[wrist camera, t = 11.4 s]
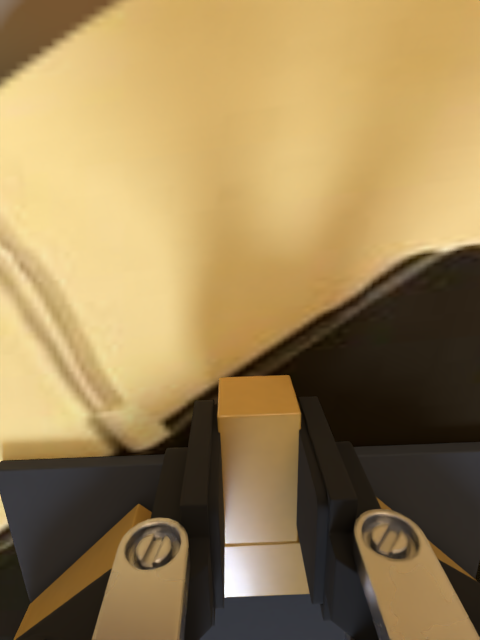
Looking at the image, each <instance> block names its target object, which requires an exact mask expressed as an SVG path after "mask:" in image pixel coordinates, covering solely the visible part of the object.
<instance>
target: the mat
mask: <svg viewBox="0 0 480 640" xmlns="http://www.w3.org/2000/svg"><path fill="white" fill-rule="evenodd" d="M354 450H355V452H356V454H357V456H358V458H359V461H360V463H361V465H362V467H363V469H364V472H365V474H366V476H367V478H368V480H369V483H370V485H371V487H372V489H373V491H374V494H375V496H376V497H377V498H378V499H379V500H381V501H382V502H383V503H384V504H385V505H387V506H388V507H389V508H390V509H391V510H393V511H395V512H398V513H401V514H403V515H404V516H406V517H408V518H410V519H411V520H412V521H413V522H415V523H416V524H417V525H418V526H419V527H420V529H421V530H422V531H423V533H424V534H425V536H426V538H427V540H429V541H430V542H431V543H432V544H433V545H435V546H436V547H437V548H438V549H439V550H441V551H442V552H443V553H444V554H445V555H447V556H448V557H449V558H450V559H451V560H453V561H454V562H455V563H456V564H457V565H459V566H460V567H461V568H462V569H463V570H465V571H466V572H467V573H468V574H469V575H471V576H472V577H473V578H474V579H475V578H476V574H477V569H478V565H479V561H480V442H463V443H438V444H413V445H388V446H363V447H354ZM164 456H165V454H161V455H136V456H111V457H86V458H61V459H35V460H10V461H1V462H0V495H1V498H2V502H3V506H4V509H5V513H6V517H7V520H8V524H9V527H10V531H11V535H12V538H13V542H14V546H15V549H16V553H17V556H18V560H19V564H20V567H21V571H22V575H23V578H24V582H25V586H26V589H27V593H28V596H29V600H30V604H31V603H32V602H33V601H34V600H35V599H36V598H37V597H38V596H39V595H40V594H41V593H43V592H44V591H45V590H46V589H47V588H48V587H49V586H50V585H51V584H52V583H53V582H54V581H55V580H57V579H58V578H59V577H60V576H61V575H62V574H63V573H64V572H65V571H66V570H67V569H68V568H69V567H71V566H72V565H73V564H74V563H75V562H76V561H77V560H78V559H79V558H80V557H81V556H82V555H83V554H85V553H86V552H87V551H88V550H89V549H90V548H91V547H92V546H93V545H94V544H95V543H96V542H97V541H99V540H100V539H101V538H102V537H103V536H104V535H105V534H106V533H107V532H108V531H109V530H110V529H111V528H113V527H114V526H115V525H116V524H117V523H118V522H119V521H120V520H121V519H122V518H123V517H124V516H125V515H127V514H128V513H129V512H130V511H131V510H132V509H133V508H134V507H135V506H136V505H137V504H141V505H142V506H144V507H145V508H147V509H148V510H149V511H151V512H152V510H153V505H154V501H155V496H156V492H157V487H158V483H159V478H160V474H161V469H162V465H163V460H164ZM200 640H345V631H343V630H342V629H341V628H340V627H338V626H337V625H336V624H334V623H333V622H332V621H323V617H322V612H321V608H320V604H312V602H311V599H310V594H296V595H274V596H251V597H229V598H224V608H223V609H215V626H212V627H211V628H210V629H209V630H208V631H207V632H206V633H205V634H204V635H203V636H202V637H201V638H200Z"/></svg>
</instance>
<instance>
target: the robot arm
mask: <svg viewBox="0 0 480 640" xmlns="http://www.w3.org/2000/svg"><path fill="white" fill-rule="evenodd" d="M297 401H298V404H299V408H300V411H301V429H300V430H299V448H298V484H297V520H296V526H297V531H298V536H299V542H300V547H301V552H302V557H303V562H304V568H305V573H306V578H307V583H308V588H309V594H310V599H311V602H312V604H320V608H321V612H322V617H323V621H332V622H333V623H334V624H336V625H337V626H338V627H340V628H341V629H342V630H343V631H345V640H480V583H479V582H478V581H476V580H474V579H472V578H471V577H469V576H467V575H465V574H464V573H462V572H460V571H458V570H457V569H455V568H453V567H451V566H450V565H448V564H446V563H444V562H443V561H441V560H439V559H437V557H436V555H435V553H434V551H433V549H432V547H431V546H430V544H429V542H428V540H427V538H426V536H425V534H424V533H423V531H422V530H421V529H420V527H419V526H418V525H417V524H416V523H415V522H413V521H412V520H411V519H410V518H408V517H406V516H404V515H403V514H401V513H398V512H395V511H392V510H388V509H381V507H380V505H379V502H378V500H377V498H376V496H375V494H374V491H373V489H372V487H371V485H370V483H369V480H368V478H367V476H366V474H365V472H364V469H363V467H362V465H361V463H360V461H359V458H358V456H357V454H356V452H355V450H354V447H353V445H352V444H351V442H349V441H342V442H335V440H334V437H333V435H332V432H331V430H330V427H329V425H328V422H327V419H326V417H325V414H324V412H323V409H322V407H321V404H320V402H319V399H318V397H317V396H312V397H298V398H297ZM217 411H218V405H214V400H200V401H195V402H194V409H193V416H192V423H191V430H190V437H189V444H188V447H182V448H167V449H166V452H165V456H164V460H163V465H162V469H161V474H160V478H159V483H158V487H157V492H156V496H155V501H154V505H153V510H152V514H151V519H148V520H145V521H143V522H140V523H138V524H137V525H135V526H134V527H132V528H131V529H130V530H129V531H128V532H127V533H126V534H125V535H124V536H123V537H122V539H121V542H120V544H119V546H118V549H117V552H116V556H115V559H114V563H113V566H112V568H111V569H110V570H108V571H107V572H106V573H104V574H103V575H102V576H100V577H99V578H97V579H96V580H95V581H93V582H92V583H91V584H89V585H88V586H87V587H85V588H84V589H83V590H81V591H80V592H79V593H77V594H76V595H75V596H73V597H72V598H71V599H69V600H68V601H67V602H65V603H64V604H62V605H61V606H60V607H58V608H57V609H56V610H54V611H53V612H52V613H50V614H49V615H48V616H46V617H45V618H44V619H42V620H41V621H40V622H38V623H37V624H36V625H34V626H33V627H32V628H30V629H29V630H27V631H26V632H25V633H23V634H22V635H21V636H19V637H18V638H17V639H16V640H200V638H201V637H202V636H203V635H204V634H205V633H206V632H207V631H208V630H209V629H210V628H211V627H212V626H215V609H223V608H224V566H225V522H224V501H223V479H222V458H221V437H220V432H218V423H217Z"/></svg>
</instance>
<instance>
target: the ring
mask: <svg viewBox="0 0 480 640" xmlns="http://www.w3.org/2000/svg"><path fill="white" fill-rule="evenodd" d="M217 423H218V432H220V437H221V458H222V479H223V501H224V522H225V566H224V598H229V597H251V596H274V595H296V594H309V588H308V583H307V578H306V573H305V568H304V562H303V557H302V552H301V547H300V542H299V536H298V531H297V526H296V520H297V484H298V448H299V430H300V429H301V411H300V408H299V404H298V401H297V398H296V394H295V391H294V388H293V385H292V381H291V378H290V376H289V375H276V376H247V377H221V378H219V387H218V411H217ZM376 498H377V497H376ZM377 500H378V502H379V505H380V507H381V509H388V510H391V509H390V508H389V507H388V506H387V505H385V504H384V503H383V502H382V501H381V500H379V499H378V498H377ZM392 511H393V510H392ZM151 514H152V512H151V511H149V510H148V509H147V508H145V507H144V506H142V505H141V504H137V505H136V506H135V507H134V508H133V509H132V510H131V511H130V512H129V513H128V514H127V515H125V516H124V517H123V518H122V519H121V520H120V521H119V522H118V523H117V524H116V525H115V526H114V527H113V528H111V529H110V530H109V531H108V532H107V533H106V534H105V535H104V536H103V537H102V538H101V539H100V540H99V541H97V542H96V543H95V544H94V545H93V546H92V547H91V548H90V549H89V550H88V551H87V552H86V553H85V554H83V555H82V556H81V557H80V558H79V559H78V560H77V561H76V562H75V563H74V564H73V565H72V566H71V567H69V568H68V569H67V570H66V571H65V572H64V573H63V574H62V575H61V576H60V577H59V578H58V579H57V580H55V581H54V582H53V583H52V584H51V585H50V586H49V587H48V588H47V589H46V590H45V591H44V592H43V593H41V594H40V595H39V596H38V597H37V598H36V599H35V600H34V601H33V602H32V603H31V604H30V605H29V607H28V609H27V612H26V614H25V616H24V618H23V620H22V623H21V625H20V627H19V629H18V631H17V634H16V636H15V638H14V640H16V639H17V638H18V637H19V636H21V635H22V634H23V633H25V632H26V631H27V630H29V629H30V628H32V627H33V626H34V625H36V624H37V623H38V622H40V621H41V620H42V619H44V618H45V617H46V616H48V615H49V614H50V613H52V612H53V611H54V610H56V609H57V608H58V607H60V606H61V605H62V604H64V603H65V602H67V601H68V600H69V599H71V598H72V597H73V596H75V595H76V594H77V593H79V592H80V591H81V590H83V589H84V588H85V587H87V586H88V585H89V584H91V583H92V582H93V581H95V580H96V579H97V578H99V577H100V576H102V575H103V574H104V573H106V572H107V571H108V570H110V569H111V568H112V566H113V563H114V559H115V556H116V552H117V549H118V546H119V544H120V542H121V539H122V537H123V536H124V535H125V534H126V533H127V532H128V531H129V530H130V529H131V528H132V527H134V526H135V525H137V524H138V523H140V522H143V521H145V520H148V519H151ZM428 542H429V544H430V546H431V547H432V549H433V551H434V553H435V555H436V557H437V559H439V560H441V561H443V562H444V563H446V564H448V565H450V566H451V567H453V568H455V569H457V570H458V571H460V572H462V573H464V574H465V575H467V576H469V577H471V578H472V579H474V578H473V577H472V576H471V575H469V574H468V573H467V572H466V571H465V570H463V569H462V568H461V567H460V566H459V565H457V564H456V563H455V562H454V561H453V560H451V559H450V558H449V557H448V556H447V555H445V554H444V553H443V552H442V551H441V550H439V549H438V548H437V547H436V546H435V545H433V544H432V543H431V542H430V541H429V540H428ZM474 580H475V579H474Z"/></svg>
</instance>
